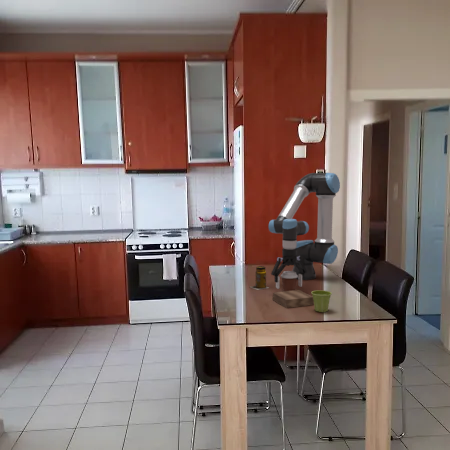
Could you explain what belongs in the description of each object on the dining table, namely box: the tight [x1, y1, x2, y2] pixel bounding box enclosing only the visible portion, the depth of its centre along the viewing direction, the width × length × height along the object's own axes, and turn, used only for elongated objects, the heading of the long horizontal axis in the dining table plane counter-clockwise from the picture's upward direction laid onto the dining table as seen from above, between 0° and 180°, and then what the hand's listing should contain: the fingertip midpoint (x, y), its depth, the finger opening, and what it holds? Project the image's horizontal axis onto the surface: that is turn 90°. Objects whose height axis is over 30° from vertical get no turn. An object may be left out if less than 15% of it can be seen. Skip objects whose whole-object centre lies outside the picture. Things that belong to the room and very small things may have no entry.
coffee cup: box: [280, 270, 298, 292], centre depth 246 cm, size 9×9×12 cm
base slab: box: [272, 289, 314, 309], centre depth 230 cm, size 15×15×4 cm
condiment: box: [250, 265, 270, 291], centre depth 261 cm, size 7×8×12 cm
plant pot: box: [311, 289, 332, 313], centre depth 216 cm, size 9×9×9 cm
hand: (289, 287), depth 246 cm, fingers open, 13 cm apart
